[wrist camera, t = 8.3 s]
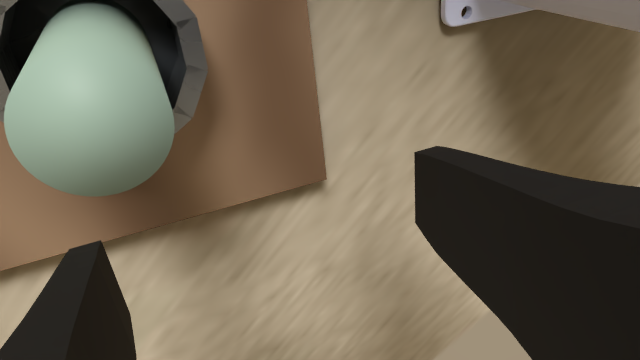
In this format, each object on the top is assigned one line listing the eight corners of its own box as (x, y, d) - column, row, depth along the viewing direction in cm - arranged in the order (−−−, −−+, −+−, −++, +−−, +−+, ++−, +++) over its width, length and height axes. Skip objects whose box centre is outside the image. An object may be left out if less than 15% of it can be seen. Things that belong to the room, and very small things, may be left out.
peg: (142, -5, 15) (164, 43, 10) (155, 90, 17) (182, 184, 11) (31, -2, 14) (-18, 54, 9) (55, 100, 16) (26, 207, 10)
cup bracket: (266, -240, 15) (331, -300, 11) (316, 167, 22) (367, 228, 18) (-318, -212, 12) (-563, -284, 7) (-41, 264, 19) (-83, 370, 14)
